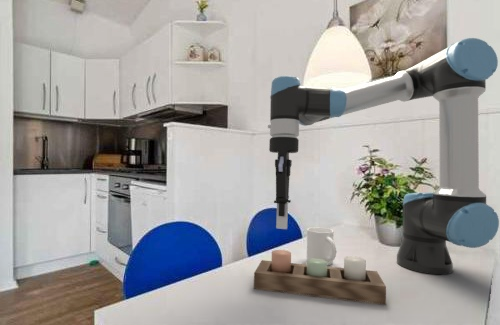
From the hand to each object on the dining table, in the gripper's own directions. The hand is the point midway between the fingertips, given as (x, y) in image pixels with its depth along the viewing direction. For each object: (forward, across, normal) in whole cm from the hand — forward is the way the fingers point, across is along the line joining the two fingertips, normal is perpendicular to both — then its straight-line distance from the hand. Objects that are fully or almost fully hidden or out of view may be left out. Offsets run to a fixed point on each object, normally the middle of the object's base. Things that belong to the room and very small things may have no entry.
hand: (281, 228), depth 74 cm
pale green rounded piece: (+12, 0, +9) cm, 15 cm away
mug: (+15, -20, +11) cm, 27 cm away
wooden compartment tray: (+14, 0, +9) cm, 17 cm away
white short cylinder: (+11, 0, +18) cm, 21 cm away
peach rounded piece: (+11, 0, 0) cm, 11 cm away
